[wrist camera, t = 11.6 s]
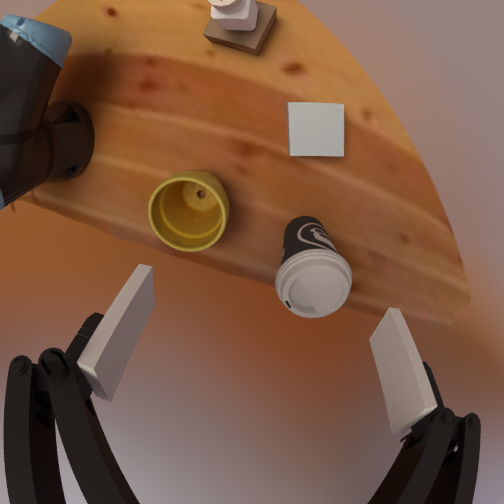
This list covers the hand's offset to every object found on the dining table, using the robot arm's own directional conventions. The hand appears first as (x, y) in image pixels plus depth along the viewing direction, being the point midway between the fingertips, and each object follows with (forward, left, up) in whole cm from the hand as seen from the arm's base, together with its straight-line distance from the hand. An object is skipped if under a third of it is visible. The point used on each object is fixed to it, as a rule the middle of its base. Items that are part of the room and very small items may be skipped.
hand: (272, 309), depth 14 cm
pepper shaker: (-8, +21, -24) cm, 33 cm away
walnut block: (-8, +21, -29) cm, 37 cm away
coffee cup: (+7, -9, -29) cm, 31 cm away
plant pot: (-10, -5, -29) cm, 31 cm away
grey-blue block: (+4, +8, -29) cm, 30 cm away
